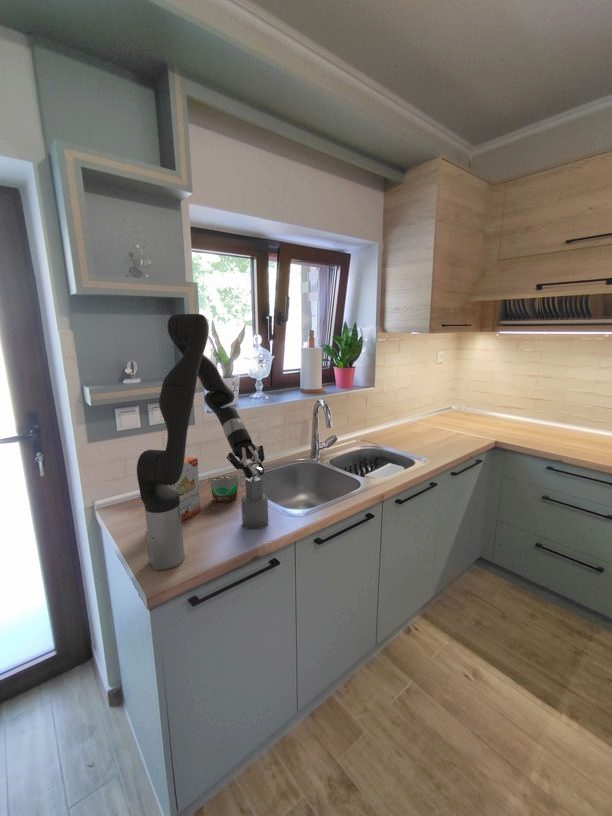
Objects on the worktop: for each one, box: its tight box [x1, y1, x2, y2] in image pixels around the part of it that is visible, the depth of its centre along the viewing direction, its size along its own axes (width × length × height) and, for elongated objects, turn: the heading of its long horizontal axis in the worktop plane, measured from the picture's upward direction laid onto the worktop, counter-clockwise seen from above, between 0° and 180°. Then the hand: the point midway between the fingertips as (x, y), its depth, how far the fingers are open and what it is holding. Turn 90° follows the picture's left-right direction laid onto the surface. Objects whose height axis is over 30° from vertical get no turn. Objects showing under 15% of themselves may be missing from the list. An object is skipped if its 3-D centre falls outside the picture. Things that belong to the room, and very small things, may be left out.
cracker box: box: [167, 455, 201, 522], centre depth 129 cm, size 14×6×21 cm, turn 151°
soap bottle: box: [240, 476, 269, 530], centre depth 125 cm, size 9×9×16 cm
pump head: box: [247, 462, 263, 480], centre depth 122 cm, size 4×7×12 cm, turn 40°
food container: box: [207, 474, 241, 505], centre depth 142 cm, size 12×6×10 cm, turn 106°
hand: (256, 475), depth 122 cm, fingers closed on pump head, 4 cm apart
